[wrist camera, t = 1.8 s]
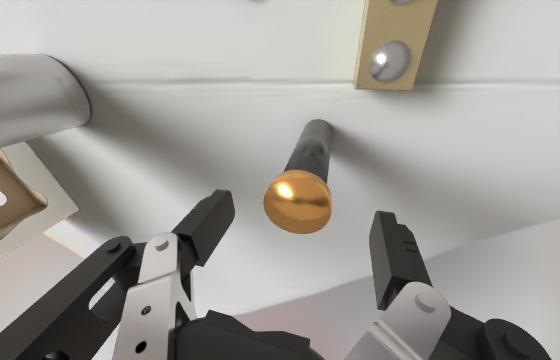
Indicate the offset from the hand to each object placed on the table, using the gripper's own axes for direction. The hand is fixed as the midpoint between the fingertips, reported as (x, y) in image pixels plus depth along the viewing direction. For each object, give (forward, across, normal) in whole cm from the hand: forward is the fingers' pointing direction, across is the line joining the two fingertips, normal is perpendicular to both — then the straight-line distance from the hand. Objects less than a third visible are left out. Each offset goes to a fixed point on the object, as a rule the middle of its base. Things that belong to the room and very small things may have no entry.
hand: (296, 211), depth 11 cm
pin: (+14, 0, 0) cm, 14 cm away
